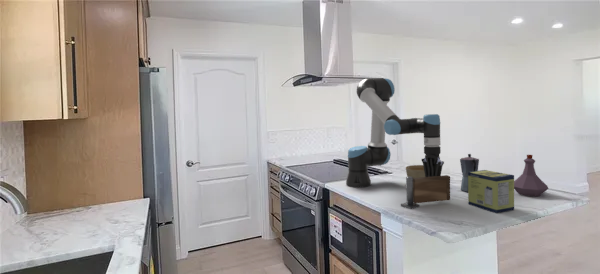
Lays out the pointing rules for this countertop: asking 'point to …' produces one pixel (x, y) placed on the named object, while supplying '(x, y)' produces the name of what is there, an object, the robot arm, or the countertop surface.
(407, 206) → the gate post
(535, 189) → the flask
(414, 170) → the planter bowl
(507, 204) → the protein box
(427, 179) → the gate
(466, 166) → the moka pot
